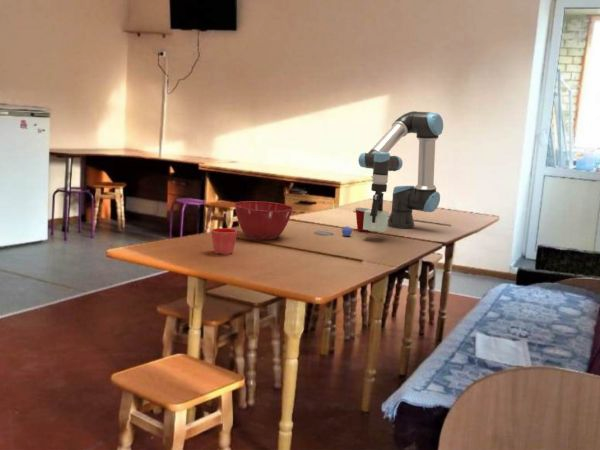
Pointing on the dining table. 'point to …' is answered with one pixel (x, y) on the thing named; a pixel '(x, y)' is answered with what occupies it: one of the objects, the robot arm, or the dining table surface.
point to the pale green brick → (381, 221)
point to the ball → (346, 231)
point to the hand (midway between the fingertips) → (375, 227)
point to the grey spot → (323, 233)
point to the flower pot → (224, 240)
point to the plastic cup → (360, 218)
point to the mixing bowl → (262, 218)
